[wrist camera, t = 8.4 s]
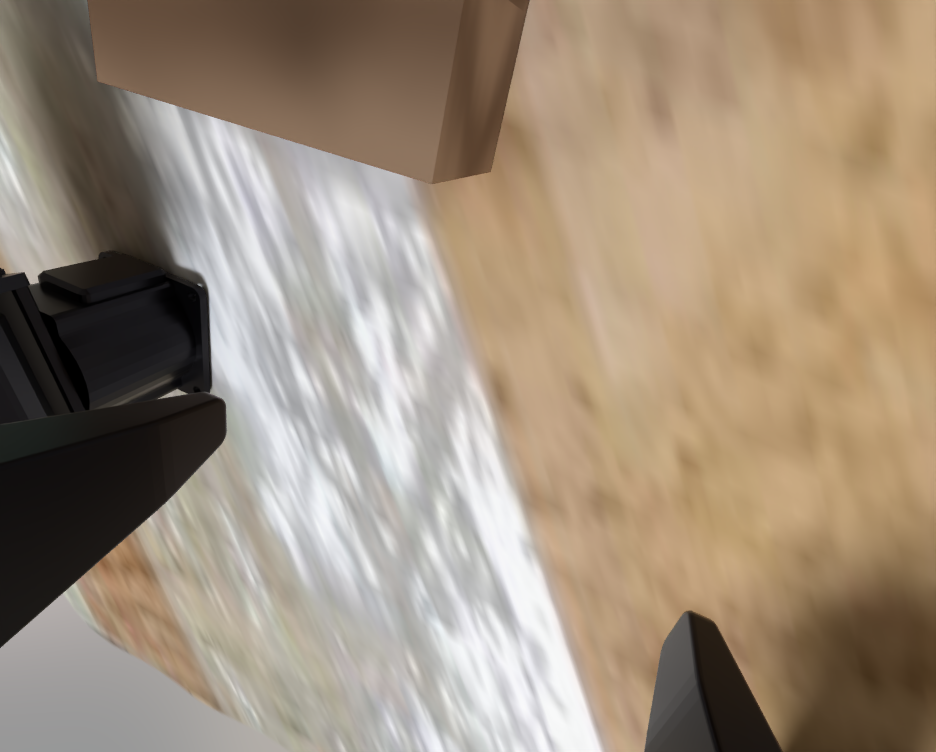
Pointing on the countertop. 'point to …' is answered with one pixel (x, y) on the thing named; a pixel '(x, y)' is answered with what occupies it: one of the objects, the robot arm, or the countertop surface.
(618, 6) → the countertop surface
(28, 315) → the robot arm
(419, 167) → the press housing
